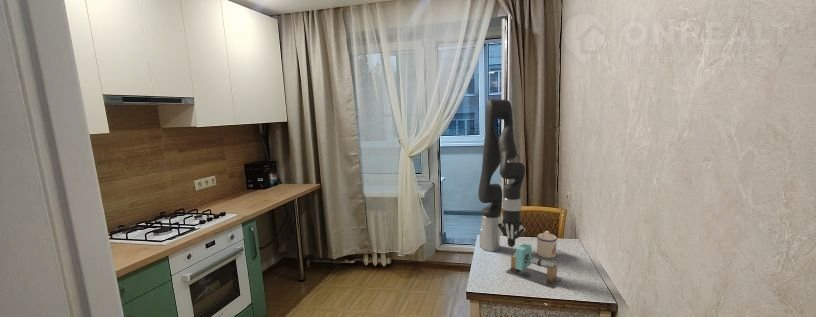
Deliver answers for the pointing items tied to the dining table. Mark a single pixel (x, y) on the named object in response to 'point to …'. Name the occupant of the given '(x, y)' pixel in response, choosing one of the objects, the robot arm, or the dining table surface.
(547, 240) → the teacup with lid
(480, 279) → the dining table surface
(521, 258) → the collar
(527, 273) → the pipe rig
